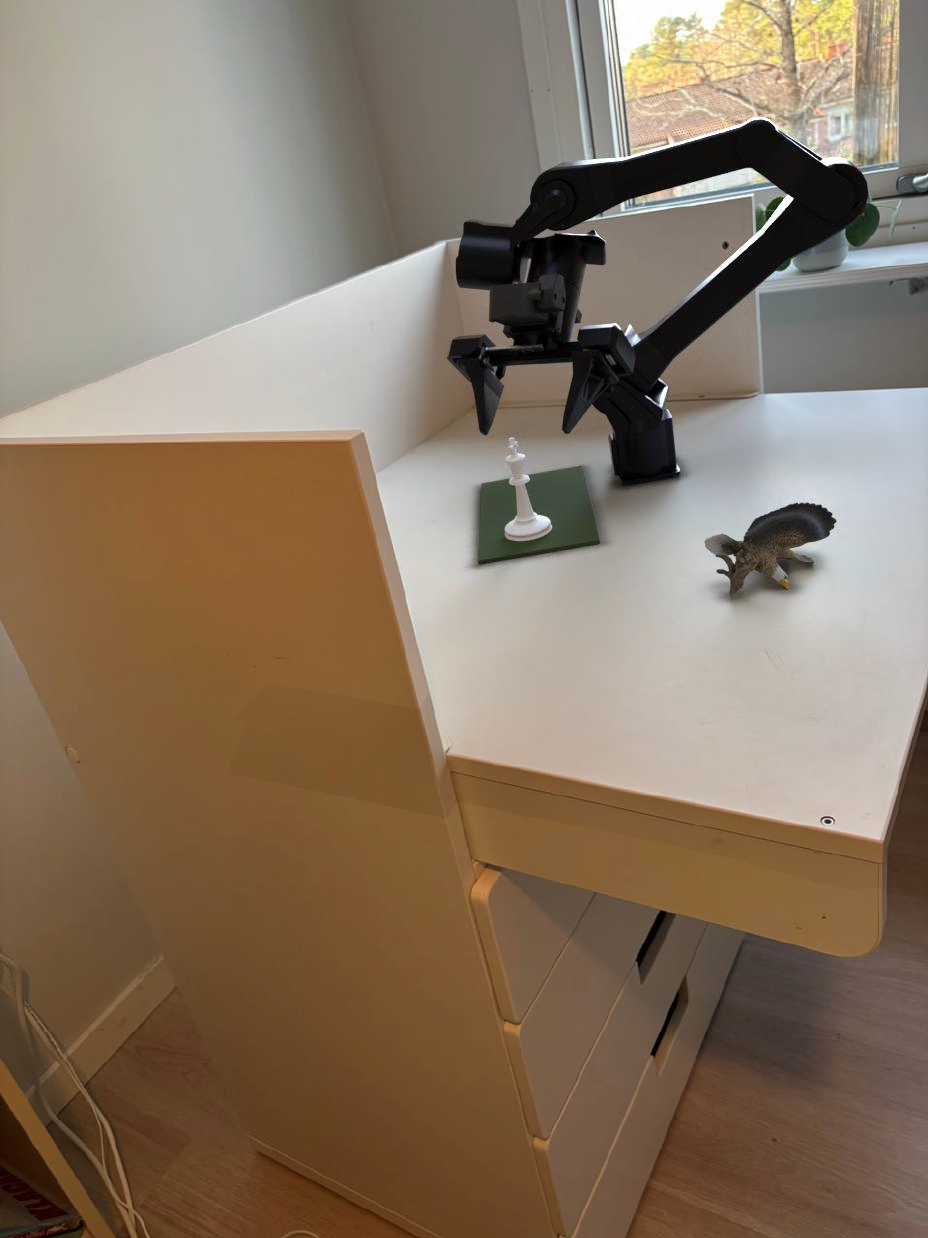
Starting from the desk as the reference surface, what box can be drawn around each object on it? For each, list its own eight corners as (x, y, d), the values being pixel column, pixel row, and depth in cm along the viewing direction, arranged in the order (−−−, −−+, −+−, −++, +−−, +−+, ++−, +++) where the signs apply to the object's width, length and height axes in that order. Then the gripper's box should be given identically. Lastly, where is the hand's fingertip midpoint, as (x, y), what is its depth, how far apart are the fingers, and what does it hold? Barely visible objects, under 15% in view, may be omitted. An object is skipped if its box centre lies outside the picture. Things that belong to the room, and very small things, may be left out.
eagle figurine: (785, 604, 71) (858, 541, 74) (730, 529, 71) (806, 469, 74) (731, 622, 78) (799, 564, 81) (681, 553, 78) (751, 498, 81)
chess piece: (559, 521, 96) (543, 428, 91) (542, 541, 92) (525, 446, 88) (515, 521, 98) (498, 430, 94) (497, 541, 95) (478, 448, 90)
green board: (581, 468, 110) (581, 465, 109) (600, 543, 90) (599, 539, 90) (482, 486, 111) (481, 483, 111) (478, 564, 92) (478, 560, 91)
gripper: (436, 256, 93) (403, 399, 90) (611, 233, 84) (579, 391, 81) (486, 315, 103) (457, 446, 100) (648, 300, 93) (621, 444, 90)
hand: (523, 432), depth 92 cm, fingers open, 9 cm apart
